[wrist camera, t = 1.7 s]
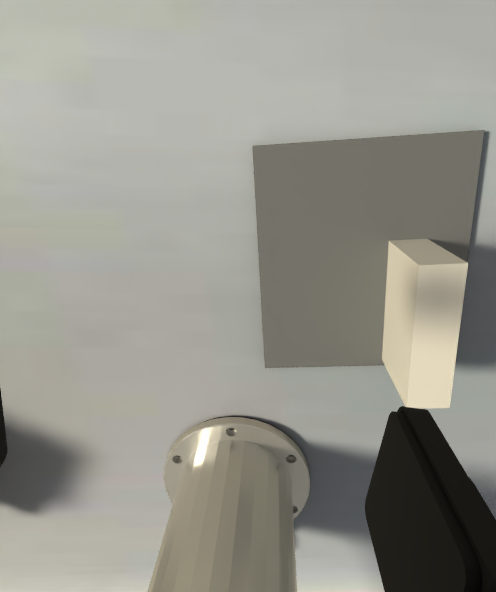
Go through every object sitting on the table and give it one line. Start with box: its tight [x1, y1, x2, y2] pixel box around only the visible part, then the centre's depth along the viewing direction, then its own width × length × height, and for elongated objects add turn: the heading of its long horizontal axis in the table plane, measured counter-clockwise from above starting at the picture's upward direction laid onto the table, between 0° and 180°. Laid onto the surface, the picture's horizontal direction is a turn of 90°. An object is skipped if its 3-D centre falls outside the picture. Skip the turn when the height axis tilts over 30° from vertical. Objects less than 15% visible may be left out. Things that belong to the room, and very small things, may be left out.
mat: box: [253, 130, 484, 368], centre depth 28 cm, size 16×14×1 cm
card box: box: [382, 239, 468, 408], centre depth 25 cm, size 9×3×6 cm, turn 4°
